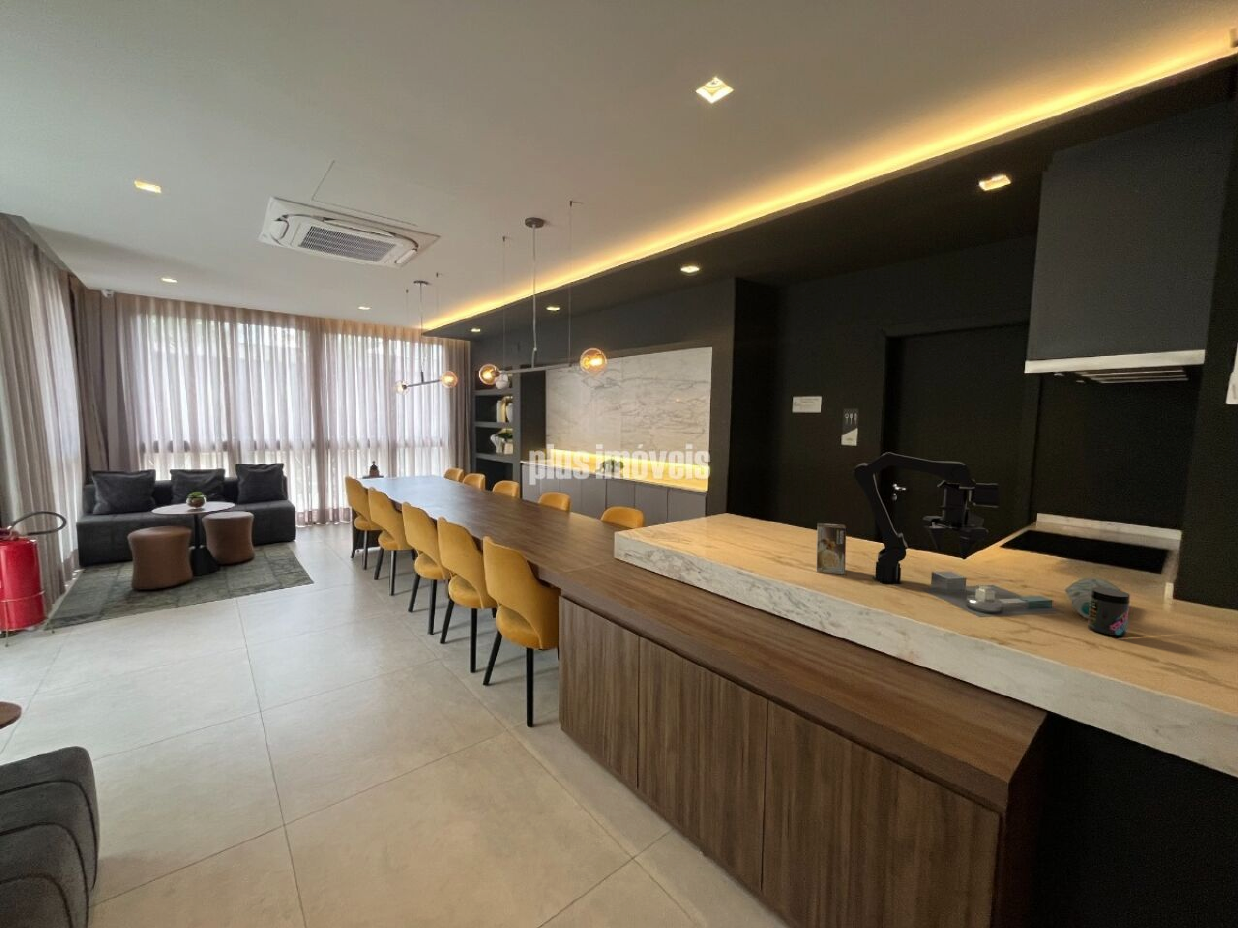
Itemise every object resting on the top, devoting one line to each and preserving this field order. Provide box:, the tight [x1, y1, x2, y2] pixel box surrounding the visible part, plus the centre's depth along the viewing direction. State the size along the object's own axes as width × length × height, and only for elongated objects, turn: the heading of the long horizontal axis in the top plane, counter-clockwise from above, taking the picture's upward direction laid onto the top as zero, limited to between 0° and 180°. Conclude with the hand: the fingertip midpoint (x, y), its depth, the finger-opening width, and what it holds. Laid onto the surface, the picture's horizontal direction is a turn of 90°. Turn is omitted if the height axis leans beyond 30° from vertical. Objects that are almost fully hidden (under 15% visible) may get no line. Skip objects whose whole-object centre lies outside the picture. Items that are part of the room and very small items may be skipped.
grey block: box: [930, 570, 967, 595], centre depth 148 cm, size 6×6×5 cm
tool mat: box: [919, 584, 1064, 618], centre depth 141 cm, size 25×22×1 cm
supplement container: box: [1087, 587, 1131, 639], centre depth 119 cm, size 7×7×10 cm
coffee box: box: [816, 522, 847, 575], centre depth 169 cm, size 9×6×16 cm
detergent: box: [1064, 576, 1122, 620], centre depth 133 cm, size 13×7×25 cm
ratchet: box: [966, 585, 1054, 614], centre depth 135 cm, size 23×8×6 cm, turn 97°
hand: (951, 554), depth 149 cm, fingers open, 9 cm apart
